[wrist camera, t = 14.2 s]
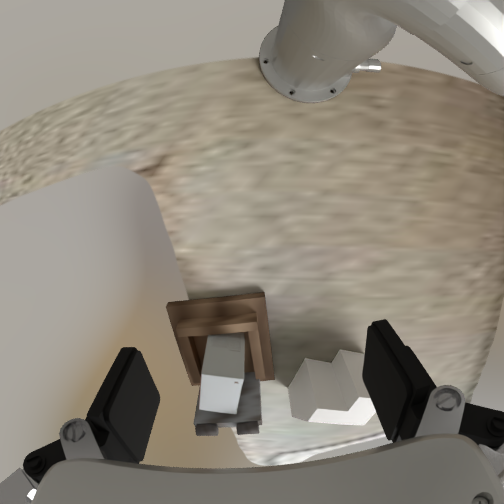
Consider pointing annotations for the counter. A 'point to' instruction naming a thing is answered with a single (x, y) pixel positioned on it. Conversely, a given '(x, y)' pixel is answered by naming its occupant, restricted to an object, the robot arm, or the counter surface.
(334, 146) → the counter surface
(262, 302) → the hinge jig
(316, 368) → the corner bracket
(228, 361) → the small box
